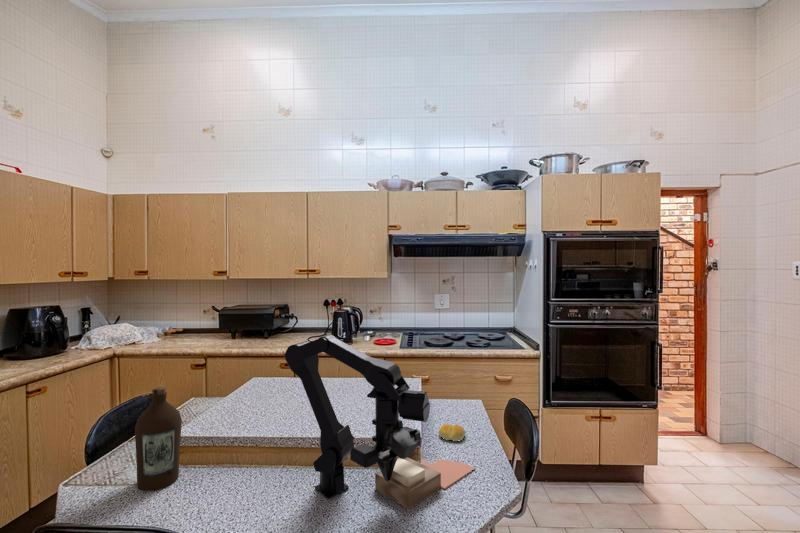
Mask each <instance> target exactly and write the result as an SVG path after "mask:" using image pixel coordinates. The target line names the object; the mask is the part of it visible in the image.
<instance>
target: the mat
mask: <svg viewBox="0 0 800 533" xmlns="http://www.w3.org/2000/svg"><path fill="white" fill-rule="evenodd" d="M425 458H426V457H424V458H422V459H421V460H422V464H423V465H425V466H427V467H429V468H431V469H433V470H435V471H438V472H440V473H441V490H442V489H443V490H447V489H448V488H450V487H451V486H453V485H454V484H455V482H456V483H457V482H458V480H459V481H461V480H462V479H463V478H465V477H466V476H468V475H469V474H470V473H469V472H471V471H472V470H473V469H475V470H476V468H475V467H474V466H471V465H469V464H467V463H465V462H462V461H460V460H458V461H459V462H455V461H454V460H453V461H454V462H453V461H450V460H441V458H439V457H438V458H439V459H440V460H441V461H440V460H439V459H437V458H436V459H437V461H438V462H437V461H434V462H436V464H435V463H434V462H433V461H431V463H433V464H434V465H433V464H430V463H429V462H427V461H425V460H424V459H425ZM425 462H426V463H425ZM427 463H428V464H429V465H428V464H427ZM472 467H473V468H472ZM472 472H473V471H472ZM472 472H471V473H472ZM468 473H469V474H468ZM467 474H468V475H467ZM465 475H466V476H465ZM464 476H465V477H464ZM461 478H462V479H461Z"/></svg>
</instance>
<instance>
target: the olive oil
mask: <svg viewBox="0 0 800 533" xmlns="http://www.w3.org/2000/svg"><path fill="white" fill-rule="evenodd" d="M151 391H152V392H151V393H152V394H151V403H150V404H149V406H148V407H147V408H146V409H145V410H144V411H143V412H142V413H141V414H140V415H139V417H138V418H137V421H136V423H135V426H134V439H135V440H134V441H135V442H134V443H135V459H136V463H135V464H136V486H137V487H136V488H137V489H138V490H139V491H141V492H155V491H160V490H162V489H165V488H167V487H169V486H171V485H173V484H174V483H175V482H177V480H178V479H179V476H180V473H179V471H180V452H181V436H182V435H181V434H182V423H183V422H182V415H181V412H180V411H179V410H178V409H177V408H176V407H174V406H173V405H172V404H171V403H169V402H168V401H167V387H166V386H157V387H154V388H152V389H151Z"/></svg>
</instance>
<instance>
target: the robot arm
mask: <svg viewBox="0 0 800 533" xmlns="http://www.w3.org/2000/svg"><path fill="white" fill-rule="evenodd" d="M321 353H324V354H326V355H328V356H330V357H332V358H333V359H335V360H337V361H338V362H339V363H343V364H344V365H346V366H348V367H349V368H351V369H353V370H355V371H356V372H358V373H360V374H361V375H362V376H363V378H364V379H365V380H366V382H367V383H368V384H369V385H371V386H372V387H373V388H372V390H371V391H370V392H368V394H366V397H367V398H370V399H374V400H375V401H374V402H375V411H374V412H375V414H374V415H375V418H373V419H372V420H371V422H372V423H371V424H372V425H374V426H375V435H372V437H371V438H372V442H375V444H374V445H369V444H367V443H366V442H364V443H361V444H359V445H356V446H355V443H354V442H355V441H354V440H355V439H356V438H355V437H354V435H353V434H352V431H351V427H350V425H349V424H346V425H345V426H344V425H342V423H340V421H339V420H338V417H337V415H336V413H335V409H334V407H333V405H332V403H331V400H330V397H329V395H328V392H327V390H326V387H325V385H324V382H323V380H322V378H321V374H320V373H319V364H320V363H319V360H320V358H319V354H321ZM284 360H285V361H286V363H287V365H288V367H289V369H290V371H291V372H293V374H294V375H296V376H297V377H298V378H299V379H300V380H301V381H300V382H301V383H302V385H303V389H304V391H305V394H306V396H307V400H308V402H309V405H310V407H311V410H312V411H313V415H314V417H315V420H316V422H317V425H318V428H319V432H320V437H319V446H320V450H321V455H319V457H317V459H316V460H315V461H313V462H312V463H313V464H312V465H313V467H314V471H315V472H319V484H317V485H314V489H315V491H317V492H319V493H320V494H321V495H323V497H325V498H326V499H331V498H333V497H335V496H337V495H339V494H341V493H343V492H345V491H347V490H348V489H349V487H350V486H349V485H348V484H346V483H345V473H344V472H345V466H344V464H343V463H344V462H345V461H346V460H347V459H348V457H349V456H350V458H349V460H350V461H352V462H354V463H356V464H357V465H359V466H360V467H363V468H366V469H367V468H368V469H369V467H372V466H374V465H376V464H377V465H378V467H379V471H381V472H382V475H383V477H384V479H385V480H386V481H389V480H390V479H391V476H392V472H393V469H394V466H395V463H396V461H397V458H401V459H405V458H407V457H408V458H409V457H410V456H413V455H414V454H415V452H416V449H417V448H418V447H420V446H421V442H422V436H421V430H419V429H418V427H417V428H416V429H412V428H410V427H407V426H405V427H403V420H408V421H414V422H415V421H416V422H424V423H426V422H428V420H429V417H430V411H431V410H430V409H431V403H430V400H429V397H428V392H427V391H426V390H410V386H409V385H408V383H407V382H406V380H405V378H404V377H403V375H402V371H401V367H400V366H399V365H398V364H396V363H395V362H392V361H388V360H386V359H381V358H375V357H372V356H370V355H368V354H366V353H364V352H362V351H361V350H358V349H357V348H355V347H354V346H351V345H350V344H347V343H345V342H344V341H342V340H340V339H338V338H337V337H336V336H334V335H333V334H326V335H323V336H320V337H319V338H317V339H314V340H312V341H309V340H304V341H301V342H297V343H294V344H291V345H289V346H287V349H285V353H284ZM395 386H397V387H395ZM399 418H402V420H401V419H399Z"/></svg>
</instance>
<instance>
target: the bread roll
mask: <svg viewBox="0 0 800 533" xmlns="http://www.w3.org/2000/svg"><path fill="white" fill-rule="evenodd" d="M466 432H467V431H466V430H465V429H464V428H463V427H462V426H461V425H458V424H455V425H451V424H448V423H445V424H443V425H441V426H440V428H439V429H438V436H439V435H440V436H439V438H441V437H442V438H444V439H447V440H454V441H458V440H462V439H463V438H464V436H465V437H466V434H467V433H466ZM442 438H441V439H442ZM464 439H465V438H464ZM462 441H463V440H462Z"/></svg>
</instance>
